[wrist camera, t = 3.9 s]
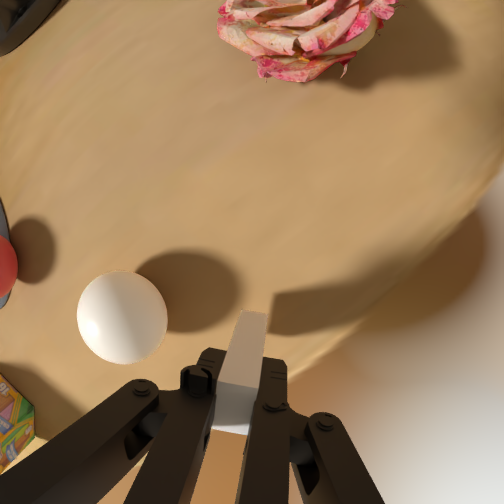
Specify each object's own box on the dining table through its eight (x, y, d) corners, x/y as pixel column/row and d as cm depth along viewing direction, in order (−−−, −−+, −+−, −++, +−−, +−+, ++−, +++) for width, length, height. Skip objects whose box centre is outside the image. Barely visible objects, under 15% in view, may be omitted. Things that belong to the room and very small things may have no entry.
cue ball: (108, 252, 18) (55, 275, 13) (184, 270, 18) (145, 303, 12) (108, 325, 19) (65, 362, 14) (177, 346, 19) (145, 395, 13)
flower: (381, -26, 11) (314, -105, 5) (450, 80, 10) (414, -16, 5) (270, 31, 17) (183, -13, 11) (303, 134, 17) (199, 102, 11)
